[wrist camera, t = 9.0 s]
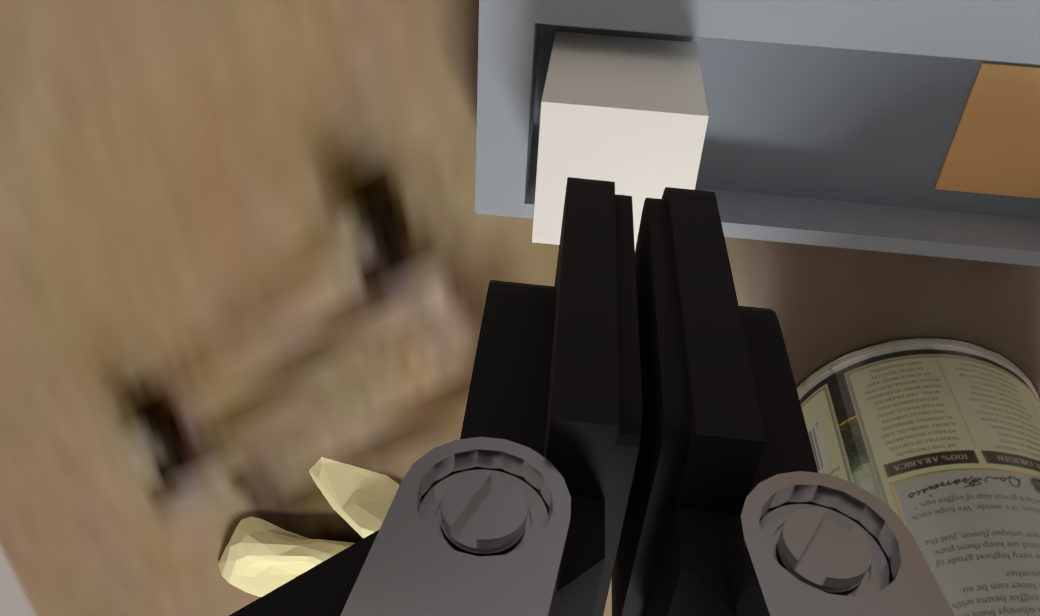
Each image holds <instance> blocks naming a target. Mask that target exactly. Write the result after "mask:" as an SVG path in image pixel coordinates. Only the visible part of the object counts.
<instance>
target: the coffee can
mask: <svg viewBox="0 0 1040 616" xmlns="http://www.w3.org/2000/svg"><path fill="white" fill-rule="evenodd" d="M797 393H798V397H799V400H800V404H801V408H802V412H803V416H804V419H805V423H806V427H807V431H808V435H809V439H810V442H811V446H812V450H813V454H814V458H815V461H816V465H817V469H818V473H823V474H828V475H831V476H834V477H837V478H840V479H843V480H846V481H849V482H852V483H854V484H856V485H857V486H859V487H861V488H863V489H864V490H866V491H868V492H870V493H872V494H873V495H875V496H877V497H878V498H879V499H880V500H881V501H883V502H884V503H885V504H886V505H887V506H888V507H889V508H891V509H892V510H893V511H894V512H895V513H896V514H897V515H898V516H899V517H900V519H901V520H902V522H903V523H904V524H905V526H906V527H907V529H908V530H909V531H910V533H911V534H912V536H913V537H914V539H915V541H916V543H917V545H918V547H919V549H920V551H921V552H922V554H923V556H924V558H925V560H926V562H927V564H928V566H929V568H930V569H931V571H932V573H933V575H934V577H935V579H936V581H937V583H938V585H939V587H940V588H941V590H942V592H943V594H944V596H945V598H946V600H947V602H948V604H949V605H950V607H951V609H952V611H953V613H954V615H955V616H1040V399H1039V396H1038V394H1037V392H1036V390H1035V388H1034V386H1033V385H1032V383H1031V382H1030V380H1029V379H1028V378H1027V377H1026V376H1025V374H1024V373H1023V372H1022V371H1021V370H1020V369H1019V368H1018V367H1016V366H1015V365H1014V364H1013V363H1012V362H1010V361H1009V360H1008V359H1006V358H1005V357H1003V356H1002V355H1000V354H998V353H995V352H993V351H990V350H987V349H984V348H982V347H980V346H977V345H974V344H971V343H967V342H962V341H956V340H949V339H938V338H915V339H904V340H895V341H889V342H886V343H883V344H878V345H874V346H870V347H866V348H863V349H861V350H858V351H854V352H851V353H849V354H846V355H844V356H842V357H840V358H838V359H836V360H834V361H832V362H830V363H828V364H827V365H825V366H824V367H822V368H820V369H819V370H817V371H816V372H815V373H813V374H812V375H811V376H809V377H808V378H807V379H806V380H804V381H803V382H802V383H801V384H800V385H799V387H798V388H797Z"/></svg>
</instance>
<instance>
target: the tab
mask: <svg viewBox="0 0 1040 616" xmlns="http://www.w3.org/2000/svg"><path fill="white" fill-rule="evenodd" d="M708 118H709V115H708V109H707V103H706V97H705V91H704V85H703V79H702V73H701V67H700V61H699V55H698V49H697V43H694V42H682V41H670V40H658V39H646V38H634V37H622V36H610V35H598V34H585V33H573V32H561V31H556V33H555V38H554V43H553V48H552V52H551V57H550V62H549V67H548V72H547V77H546V82H545V86H544V91H543V96H542V101H541V115H540V130H539V145H538V160H537V176H536V191H535V206H534V221H533V236H532V242H535V243H545V244H556V245H560V236H561V227H562V219H563V210H564V202H565V193H566V185H567V178H568V177H572V178H582V179H592V180H602V181H612V182H615V194H617V195H626V196H632V206H633V226H634V246H635V249H636V243H637V238H638V232H639V227H640V221H641V215H642V210H643V205H644V201H645V199H646V198H656V199H662V195H663V192H664V189H665V188H666V187H671V188H681V189H691V190H695V186H696V181H697V176H698V170H699V165H700V160H701V154H702V149H703V144H704V139H705V133H706V128H707V123H708Z"/></svg>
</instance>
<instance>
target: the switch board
mask: <svg viewBox="0 0 1040 616" xmlns="http://www.w3.org/2000/svg"><path fill="white" fill-rule="evenodd" d="M556 31H561V32H573V33H585V34H598V35H610V36H622V37H634V38H646V39H658V40H670V41H682V42H694V43H697V49H698V55H699V61H700V67H701V73H702V79H703V85H704V91H705V97H706V103H707V109H708V115H709V118H708V123H707V128H706V133H705V139H704V144H703V149H702V154H701V160H700V165H699V170H698V176H697V181H696V186H695V190H701V191H711V192H714V193H715V195H716V199H717V204H718V209H719V214H720V219H721V224H722V229H723V233H724V237H731V238H742V239H753V240H763V241H774V242H784V243H795V244H806V245H816V246H827V247H837V248H848V249H859V250H869V251H880V252H890V253H901V254H912V255H922V256H933V257H943V258H954V259H965V260H975V261H986V262H996V263H1007V264H1018V265H1028V266H1039V267H1040V0H479V31H478V83H477V135H476V187H475V213H477V214H488V215H498V216H509V217H519V218H530V219H534V206H535V191H536V176H537V160H538V145H539V130H540V115H541V101H542V96H543V91H544V86H545V82H546V77H547V72H548V67H549V62H550V57H551V52H552V48H553V43H554V38H555V33H556Z"/></svg>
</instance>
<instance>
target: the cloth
mask: <svg viewBox="0 0 1040 616" xmlns="http://www.w3.org/2000/svg"><path fill="white" fill-rule="evenodd" d="M309 471H310V474H311V476H312V478H313V480H314V481H315V483H316V485H317V486H318V488H319V489H320V491H321V492H322V493H323V495H324V496H325V498H326V499H327V501H328V502H329V504H330V505H331V507H332V508H333V509H334V510H335V511H336V512H337V513H338V514H339V515H340V516H341V517H342V518H343V519H344V520H345V521H346V522H347V523H348V524H349V525H350V526H351V527H352V528H353V529H354V530H355V531H356V532H357V533H358V534H359V535H360V536H361V537H362V538H365V537H367V536H369V535H370V534H372V533H374V532H376V531H377V530H379V529H380V527H381V525H382V523H383V521H384V519H385V516H386V514H387V512H388V510H389V508H390V506H391V503H392V501H393V499H394V497H395V495H396V492H397V490H398V488H399V486H400V485H399V484H398V483H396V482H395V481H394V480H392V479H391V478H390V477H388V476H386V475H383V474H379V473H376V472H372V471H369V470H366V469H362V468H359V467H355V466H352V465H349V464H344V463H341V462H337V461H334V460H330V459H327V458H324V457H321V458H320V460H319V461H318V462H317V463H316V464H315V465H314V466H313V467H312V468H311V469H310V470H309ZM353 544H355V543H352V542H342V541H332V540H322V539H309V538H306V537H303V536H301V535H298V534H295V533H292V532H289V531H286V530H284V529H282V528H280V527H278V526H276V525H274V524H271V523H269V522H267V521H265V520H263V519H260V518H255V517H251V516H250V517H248V518H245V519H241V521H240V522H239V524H238V525H237V527H236V529H235V531H234V533H233V535H232V537H231V539H230V541H229V543H228V544H227V546H226V548H225V550H224V552H223V554H222V557H221V559H220V561H219V563H218V565H219V568H220V571H221V574H222V576H223V577H224V578H225V579H226V580H227V581H228V582H229V583H230V584H231V585H233V586H235V587H237V588H239V589H241V590H243V591H245V592H247V593H250V594H253V595H256V596H259V597H263V596H264V595H266V594H268V593H270V592H271V591H273V590H275V589H276V588H278V587H280V586H282V585H283V584H285V583H287V582H289V581H290V580H292V579H294V578H296V577H297V576H299V575H301V574H303V573H304V572H306V571H308V570H310V569H311V568H313V567H315V566H316V565H318V564H320V563H322V562H323V561H325V560H327V559H329V558H330V557H332V556H334V555H336V554H337V553H339V552H341V551H343V550H344V549H346V548H348V547H350V546H351V545H353Z"/></svg>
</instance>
